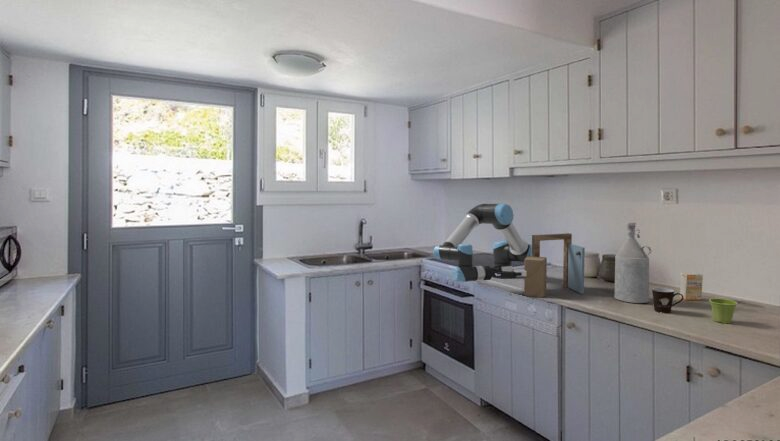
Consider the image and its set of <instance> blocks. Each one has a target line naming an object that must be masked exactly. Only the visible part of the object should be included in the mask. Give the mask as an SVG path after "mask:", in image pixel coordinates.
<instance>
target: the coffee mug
mask: <svg viewBox="0 0 780 441" xmlns="http://www.w3.org/2000/svg"><path fill="white" fill-rule="evenodd" d="M651 291H652V302H653V310H655V311H654V312H657V313H660V312H662V313H661V314H670V312H671V313H672V307H673V306H675V305H677V304H680V303H681V302H682V301H683V300H684V299H683V295H682V294H680V292H679V293H678V292H676V293H675V290H674V289H672V288H665V287H653V288H652V290H651ZM677 295H679V296H680V295H681V296H682V299H681V298H680V300H678V301H677V302H675V303H673V302H674V297H675V296H677Z"/></svg>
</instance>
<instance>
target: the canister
mask: <svg viewBox="0 0 780 441" xmlns="http://www.w3.org/2000/svg"><path fill="white" fill-rule="evenodd" d="M636 223H637V222H629V221H627V222H626V227H627V239H626V240H625V242H624V243H623V244H622V246H621V247H620V248H619V250H618V251H617V252H616V255H615V257H614V258H615V260H614V261H615V264H614V299H616V300H619V301H621V302H626V303H634V304H645V303H649V302H650V258H649V255H650V254H651V253H652V252H651V251H652V249H651V247H650V246H647V245H644V246H641V245H640V243H639V242H638V240H637V239H636V237H635V235H636V236H637V238H638V239H639V238H641V236H640V229H636V228H637V227H636V225H637V224H636ZM637 231H638V232H637ZM635 232H637V233H638V234H637V233H635ZM644 248H647V249H648V250H649V252H648V254H646V252H645V250H644Z"/></svg>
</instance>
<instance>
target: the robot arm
mask: <svg viewBox="0 0 780 441" xmlns="http://www.w3.org/2000/svg"><path fill="white" fill-rule="evenodd" d="M514 216H515V214H514V210H513V209H512V206H511V205H509V204H507V203H480V204H477V205H476V206H473V207H472V208H471V209H470V210H468V212H466V214H465V215H464V217H463V220H462V221H461V222H460V223H459V224H458V226H457V227H455V230H453V232H451V234H450V235H449V236H448V238H447V239H446V240H445V241H444V242H443V243H442V245H441V244H439V245H435V247H434V248H433V251H432V253H433V254H432V255H433V256H434V258H435V259H437V260H439V261H440V260H441V261H450V262H457V266H456V267H454V268H453V271H452V276H453V277H452V278H453V279H454V281H456V283H460V282H461V283H466V282H477V283H479V281H491V280H492V278H495V277H497V279H511V278H512V279H516V278H517V277H519V278H520V277H524V276H526V272H527V271H524V270H517V271H516V270H514V267H513V262H516V263H524V260H525V258H527V257H528V256H531V257H532V243H531V244H529V243H528V241H527V240H525V239H523V238H522V237H521V235H520V233H519V231H518V230H517V228H516V227H515V225H514V224H513V220H514ZM482 224H485V225H487V224H488V225H491V226H493V228H494V229H495V230H498V231H499V233H500V234H501V235H502V237H503V238H504V240H501V241H500V240H499V241H496V242H493V246H492V247H493V248H492V250H493V251H492V254H493V257H492V258H493V259H492V260H493V261H492V262H493V263H492V264H493V265H492V266H490V265H476V266H474V265H473V264H474V263H473V262H474V260H473V259H474V258H473V257H474V256H473V254H474V253H473V251H474V250H473V245H472V244H471V243H463V242H465V240H466V239H467V237H468V236H469V235H470V234H471V233H472V231H473V230H474V229H475V228H477V227H479V225H482Z"/></svg>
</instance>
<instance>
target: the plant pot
mask: <svg viewBox="0 0 780 441" xmlns="http://www.w3.org/2000/svg"><path fill="white" fill-rule="evenodd" d="M708 301H709V302H710V305H711V312H712V313H711V314H712V321H714V322H716V323H718V322H719V323H721V324H731V323H733V322H732V321H733V316H734V312H735V308H736V306H737V305H738V302H737V301H735V300H731V299H727V298H710V299H708Z"/></svg>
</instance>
